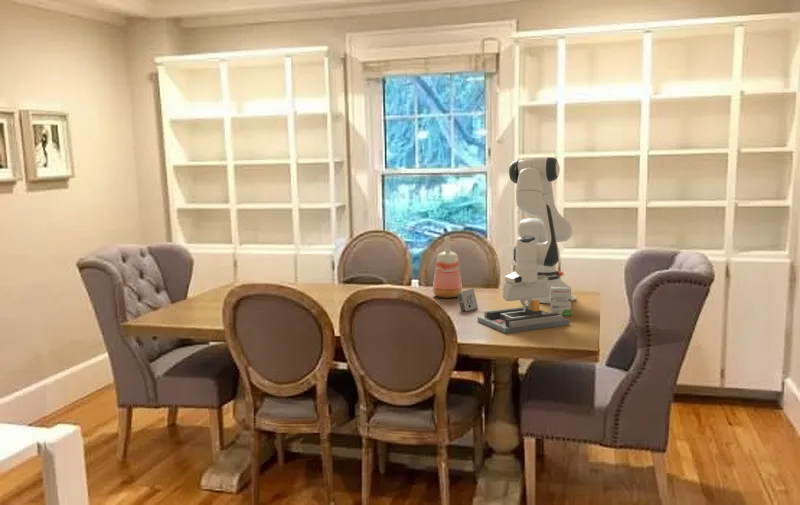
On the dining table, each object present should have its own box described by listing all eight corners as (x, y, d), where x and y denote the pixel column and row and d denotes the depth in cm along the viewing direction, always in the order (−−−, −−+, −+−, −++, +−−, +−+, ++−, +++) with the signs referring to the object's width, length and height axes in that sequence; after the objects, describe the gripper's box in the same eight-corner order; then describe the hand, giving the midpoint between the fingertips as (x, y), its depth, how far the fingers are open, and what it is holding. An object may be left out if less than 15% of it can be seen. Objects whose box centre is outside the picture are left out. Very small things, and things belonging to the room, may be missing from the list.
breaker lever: (533, 314, 278) (533, 298, 277) (541, 317, 272) (541, 300, 271) (525, 315, 276) (525, 299, 275) (533, 318, 271) (533, 301, 270)
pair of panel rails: (533, 310, 287) (533, 304, 286) (563, 320, 267) (563, 314, 267) (484, 316, 278) (484, 310, 277) (511, 327, 258) (511, 321, 258)
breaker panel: (538, 313, 289) (538, 304, 288) (569, 324, 268) (569, 315, 268) (477, 321, 277) (477, 312, 277) (505, 333, 257) (505, 323, 257)
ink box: (571, 313, 288) (571, 286, 287) (571, 315, 284) (571, 288, 282) (550, 312, 290) (550, 286, 289) (550, 315, 286) (550, 288, 284)
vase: (467, 295, 332) (466, 236, 327) (453, 300, 320) (452, 239, 315) (441, 292, 339) (441, 234, 335) (427, 297, 327) (426, 237, 323)
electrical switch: (467, 312, 295) (465, 291, 294) (457, 311, 298) (455, 291, 297) (478, 308, 302) (476, 288, 301) (468, 308, 305) (467, 288, 305)
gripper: (543, 273, 278) (543, 305, 280) (500, 277, 270) (500, 310, 272) (552, 275, 272) (552, 308, 274) (509, 279, 264) (509, 313, 266)
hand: (526, 309), depth 273 cm, fingers closed
